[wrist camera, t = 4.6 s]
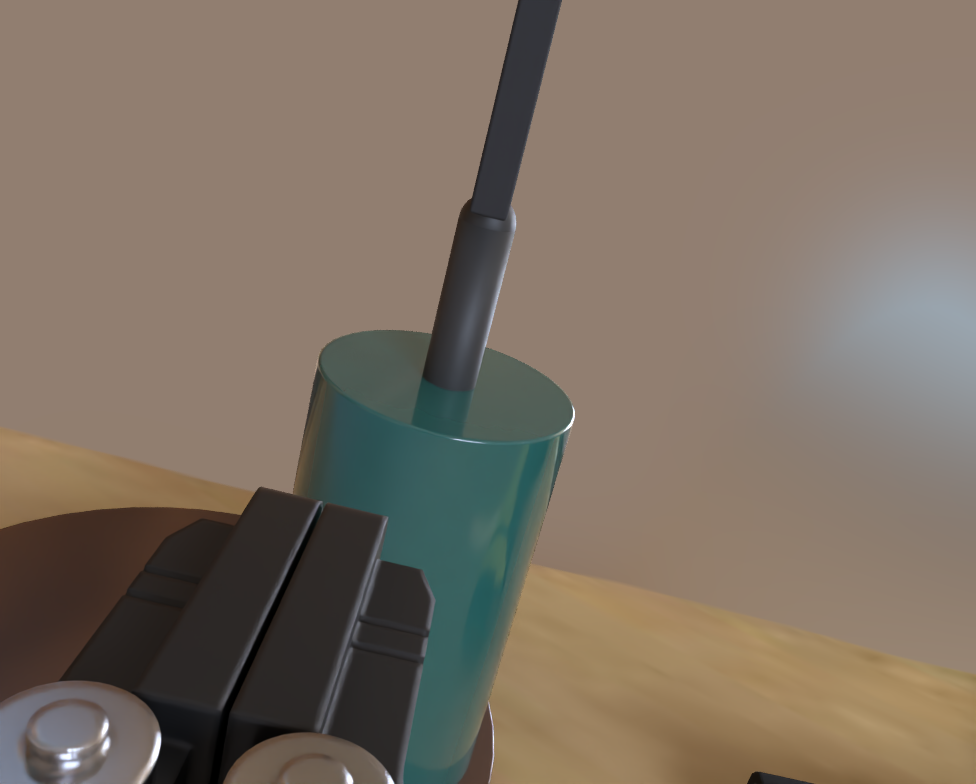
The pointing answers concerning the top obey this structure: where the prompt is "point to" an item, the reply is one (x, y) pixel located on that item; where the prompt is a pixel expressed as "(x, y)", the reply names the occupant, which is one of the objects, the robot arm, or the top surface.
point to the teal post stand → (375, 471)
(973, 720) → the top surface
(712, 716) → the top surface
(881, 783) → the top surface
